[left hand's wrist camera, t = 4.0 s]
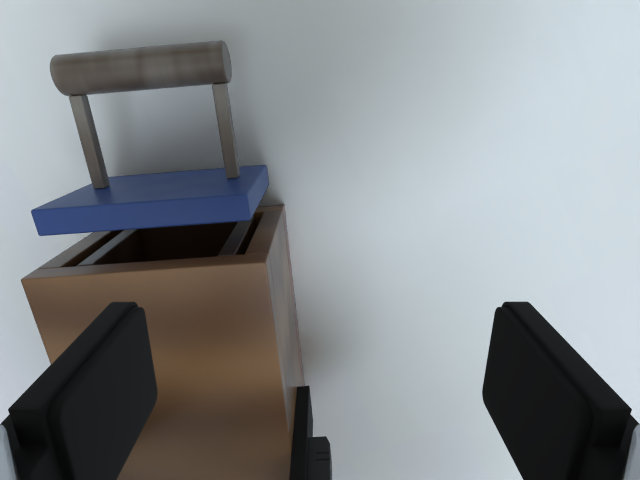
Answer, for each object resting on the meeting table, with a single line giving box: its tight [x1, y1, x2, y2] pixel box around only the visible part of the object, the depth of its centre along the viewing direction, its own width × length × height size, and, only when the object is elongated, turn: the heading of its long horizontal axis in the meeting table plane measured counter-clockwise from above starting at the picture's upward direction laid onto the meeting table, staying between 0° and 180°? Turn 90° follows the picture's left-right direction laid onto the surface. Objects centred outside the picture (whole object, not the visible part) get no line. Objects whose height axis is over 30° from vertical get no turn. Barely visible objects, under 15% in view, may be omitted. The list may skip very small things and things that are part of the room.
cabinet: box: [21, 205, 304, 480], centre depth 24 cm, size 15×10×9 cm
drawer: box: [31, 41, 269, 266], centre depth 22 cm, size 20×9×7 cm, turn 4°
